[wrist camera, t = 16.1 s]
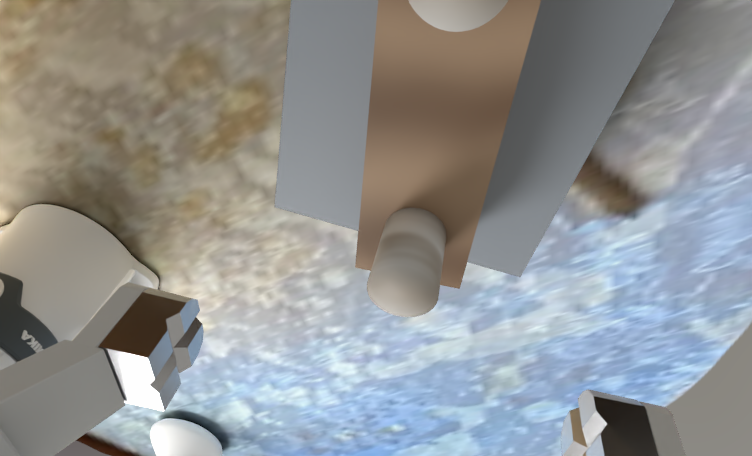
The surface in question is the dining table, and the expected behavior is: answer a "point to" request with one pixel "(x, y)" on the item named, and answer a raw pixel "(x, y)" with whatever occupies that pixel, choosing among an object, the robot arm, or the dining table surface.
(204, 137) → the dining table surface
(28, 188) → the dining table surface
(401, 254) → the twin candle holder
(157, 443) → the flower in vase
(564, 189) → the slate shelf
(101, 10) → the dining table surface
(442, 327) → the dining table surface
